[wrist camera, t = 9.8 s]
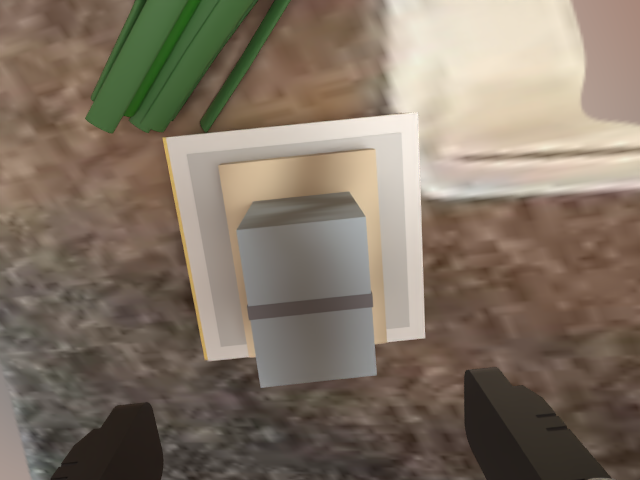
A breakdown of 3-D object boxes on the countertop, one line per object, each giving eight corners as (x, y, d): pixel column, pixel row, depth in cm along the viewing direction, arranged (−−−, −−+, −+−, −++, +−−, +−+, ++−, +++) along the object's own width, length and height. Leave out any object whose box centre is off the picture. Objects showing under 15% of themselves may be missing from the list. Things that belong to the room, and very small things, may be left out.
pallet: (368, 146, 24) (402, 160, 16) (379, 323, 27) (413, 411, 19) (226, 161, 24) (187, 182, 16) (253, 337, 27) (232, 430, 19)
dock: (401, 113, 28) (418, 112, 24) (410, 311, 32) (425, 339, 28) (181, 135, 28) (160, 138, 24) (216, 331, 31) (203, 362, 27)
